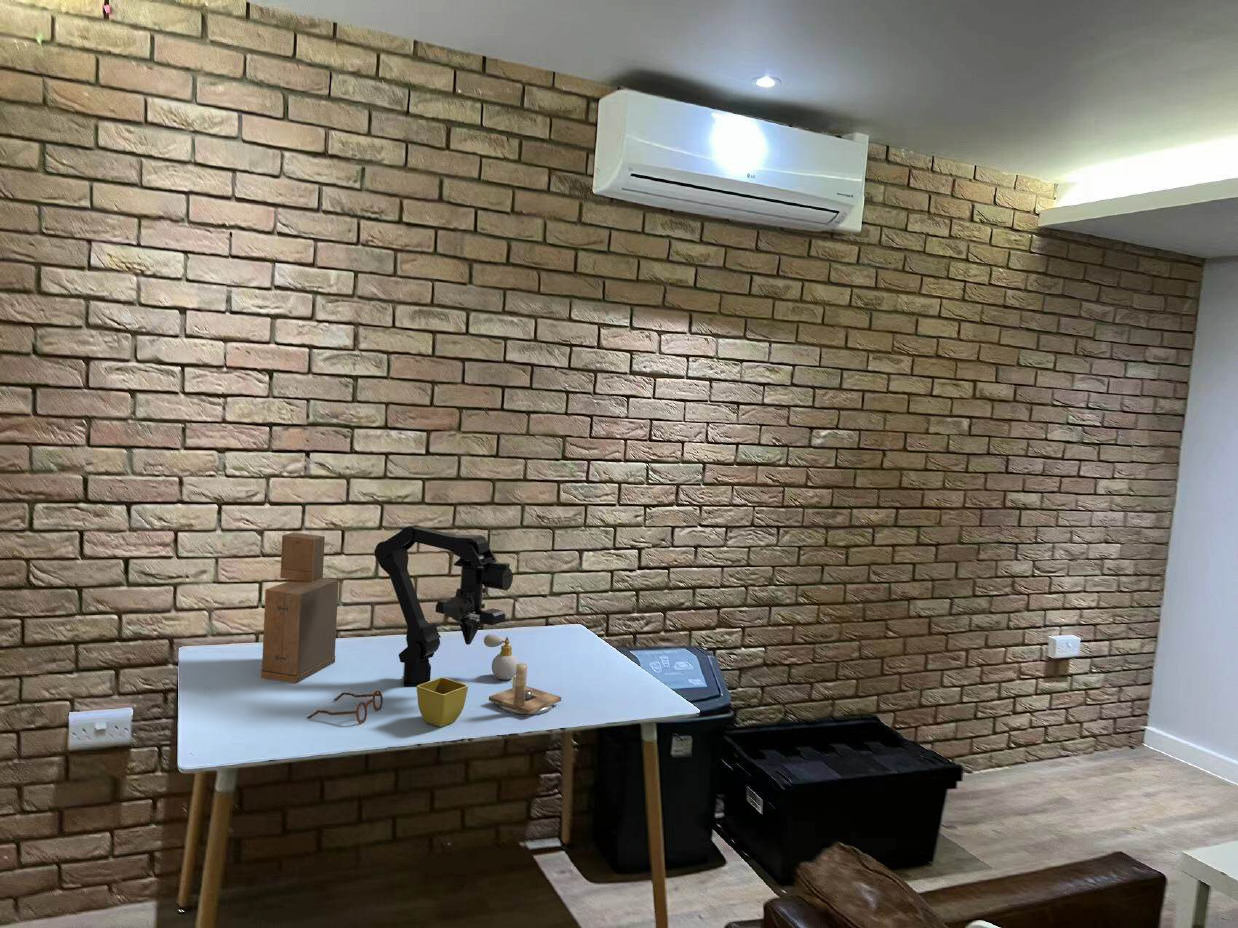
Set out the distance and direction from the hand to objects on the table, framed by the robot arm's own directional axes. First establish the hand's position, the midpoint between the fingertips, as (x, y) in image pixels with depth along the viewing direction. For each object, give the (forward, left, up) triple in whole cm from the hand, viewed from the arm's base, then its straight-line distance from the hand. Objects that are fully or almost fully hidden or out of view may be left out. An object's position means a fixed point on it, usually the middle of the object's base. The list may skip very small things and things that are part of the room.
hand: (468, 644), depth 229 cm
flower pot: (-8, -19, -13) cm, 24 cm away
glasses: (-29, -11, -14) cm, 34 cm away
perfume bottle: (+11, +11, -13) cm, 21 cm away
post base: (+14, -8, -13) cm, 21 cm away
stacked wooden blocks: (-42, +22, -13) cm, 49 cm away
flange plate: (+14, -10, -12) cm, 21 cm away
